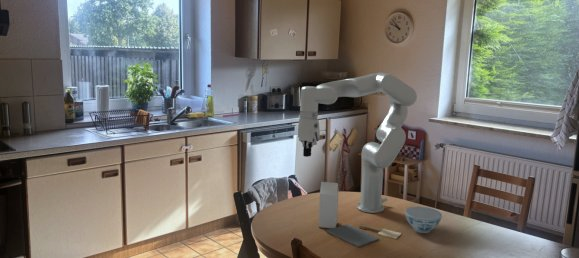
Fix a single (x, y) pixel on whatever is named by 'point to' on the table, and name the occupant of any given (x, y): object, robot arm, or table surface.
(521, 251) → the table surface
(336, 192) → the milk carton
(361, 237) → the mat
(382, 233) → the turner
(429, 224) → the chinaware
